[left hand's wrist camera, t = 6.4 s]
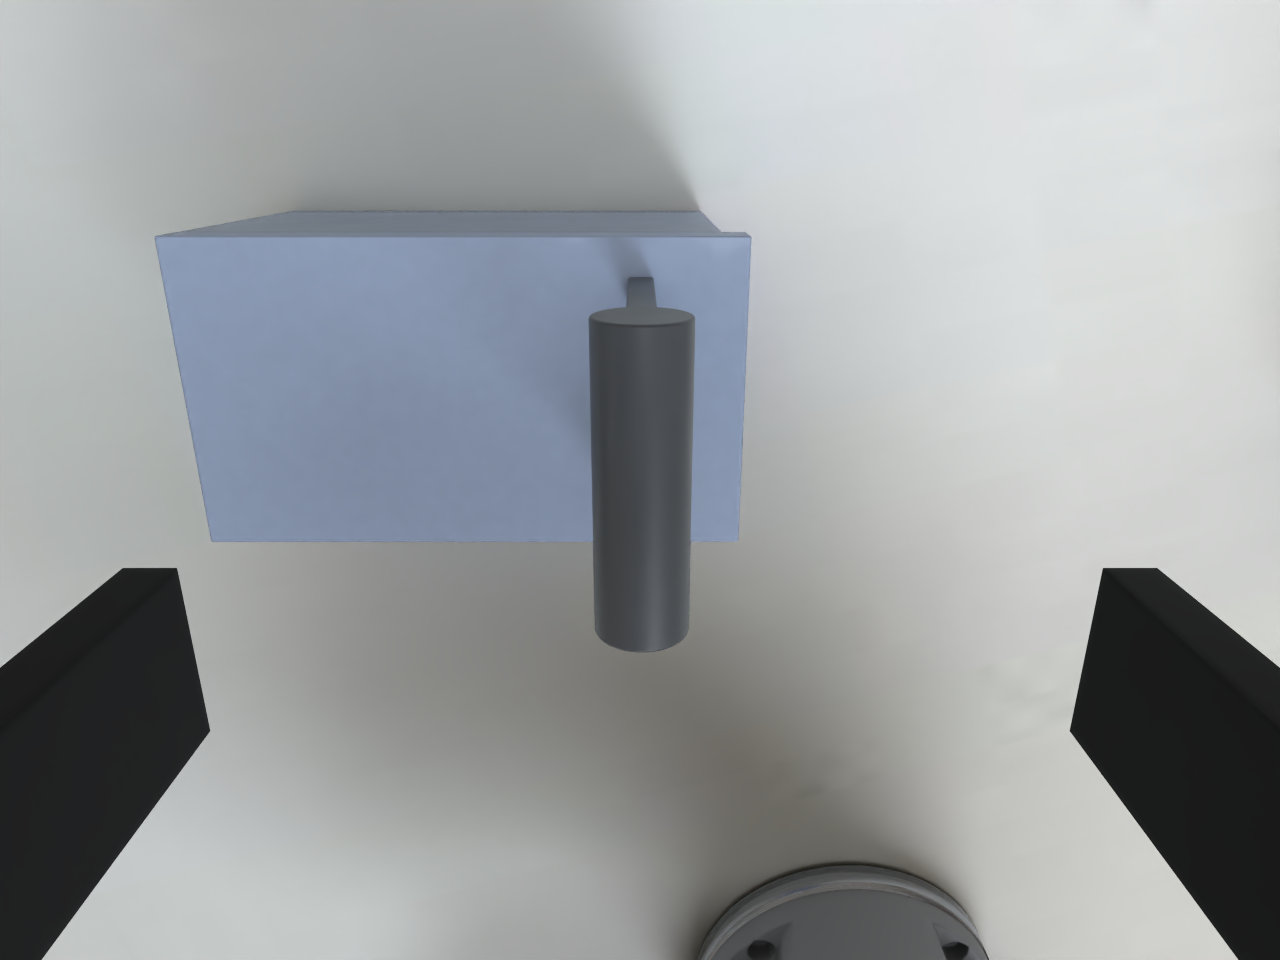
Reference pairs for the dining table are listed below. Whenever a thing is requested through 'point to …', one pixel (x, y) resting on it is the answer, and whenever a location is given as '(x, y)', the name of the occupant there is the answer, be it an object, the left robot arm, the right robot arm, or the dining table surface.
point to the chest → (472, 222)
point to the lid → (473, 395)
